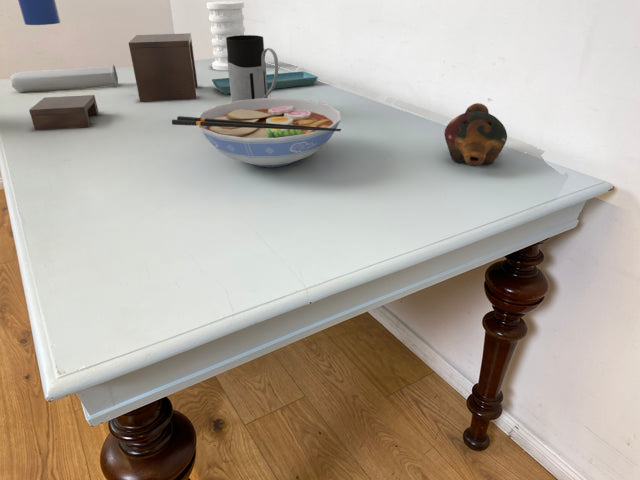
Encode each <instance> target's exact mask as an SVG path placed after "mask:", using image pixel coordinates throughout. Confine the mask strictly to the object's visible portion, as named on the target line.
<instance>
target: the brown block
mask: <svg viewBox="0 0 640 480" xmlns="http://www.w3.org/2000/svg"><path fill="white" fill-rule="evenodd" d="M193 47H194V45H193V41H192V33H190V32H188V33H187V32H186V33H158V34H136V35H135V36H134V37H133V38H132V39H131V40H130V41H129V42H128V49H129V52H130V57H131V61H132V62H131V63H132V67H133V73H134V77H135V84H136V88H137V93H138V99H139V102H140V103H142V102H163V101H180V100H196V99H197V96H198V95H197V89H198V88H199V84H198V77H197V70H196V69H197V68H196V62H195V55H194V48H193Z"/></svg>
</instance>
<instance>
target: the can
mask: <svg viewBox="0 0 640 480" xmlns="http://www.w3.org/2000/svg"><path fill="white" fill-rule="evenodd" d="M17 1H18V6H19V9H20V12H21V15H22V19H23V22H24V25H26V26H46V25H47V26H48V25H57V24H61V19H60V15H59V10H58V7H57V2H56V0H17Z"/></svg>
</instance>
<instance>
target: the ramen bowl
mask: <svg viewBox="0 0 640 480" xmlns="http://www.w3.org/2000/svg"><path fill="white" fill-rule="evenodd" d="M341 117H342V116H341V111H340V110H338V109H337V108H336V107H334V106H332V105H330V104H327V103H324V102H320V101H316V100H311V99H302V98H301V99H300V98H291V97H268V98H260V99H250V100H240V101H235V102H231V101H230V102H226V103H222V104H218V105H215V106H213V107H210V108H208V109H206V110H203V111H201V112H200V114H199V115H198V116H197V117H194V116H184V115H183V116H181V115H179V116H177V117H176V119H172V120H171V125H172V126H191V127H192V126H194V127H195V126H196V127H197V126H198V127H199V129H200V131H201V132H202V134H203V136H204V137H205V138H206V140H208V142H210V144H211V145H212V147H214V148H215V149H216V150H217V151H218V152H219V153H221V154H222V155H224V156H226V157H229V158H230V159H233V160H235V161H238V162H240V163H245V164H249V165H250V164H251V165H254V166H256V167H260V168H280V167H284V166H286V165H290V164H291V163H294V162H297V161H300V160H302V159H306V158H308V157H310V156H312V155H313V154H315V153H316V152H317V151H318V150H320V149H321V148H322V147H324V146H325V145H326V143H328V141H329V140H330V139H331V138H332V137H333V135H334V133H335V132H341V131H342V128H338V127H339V125H340V122H341V120H342V118H341Z"/></svg>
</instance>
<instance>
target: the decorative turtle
mask: <svg viewBox="0 0 640 480" xmlns="http://www.w3.org/2000/svg"><path fill="white" fill-rule="evenodd" d="M444 140H445V142H446V143H445V144H446V146H447V149H448V152H449V155H450V158H451V161H452V162H454V163H460V162H462V161H463V160H464V161H465V163H466V164H467V165H469V166H472V167H479V166H481V165H482V164H483V163H484V164H485V165H492V164H493V163H494V162H495V161H496V159H497V158H498V157H499V155H500V154H501V152H502V151H503V149H504V147H505V145H506V143H507V140H508V132H507V129H506V128H505V125H504V124H503V123H502V121H500V119H498V117H496V116H494V115H493V114H491V113H490V112H489V108H488V106H486V105H485V104H483V103H479V102H477V103H473V104H471V105H469V106H468V107H467V108H466V110H465V112H464V113H461V114H459V115H457V116H456V117H454V118H453V119H452V120H450V122H449V123H448V124H447V125H446V126H445V128H444Z"/></svg>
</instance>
